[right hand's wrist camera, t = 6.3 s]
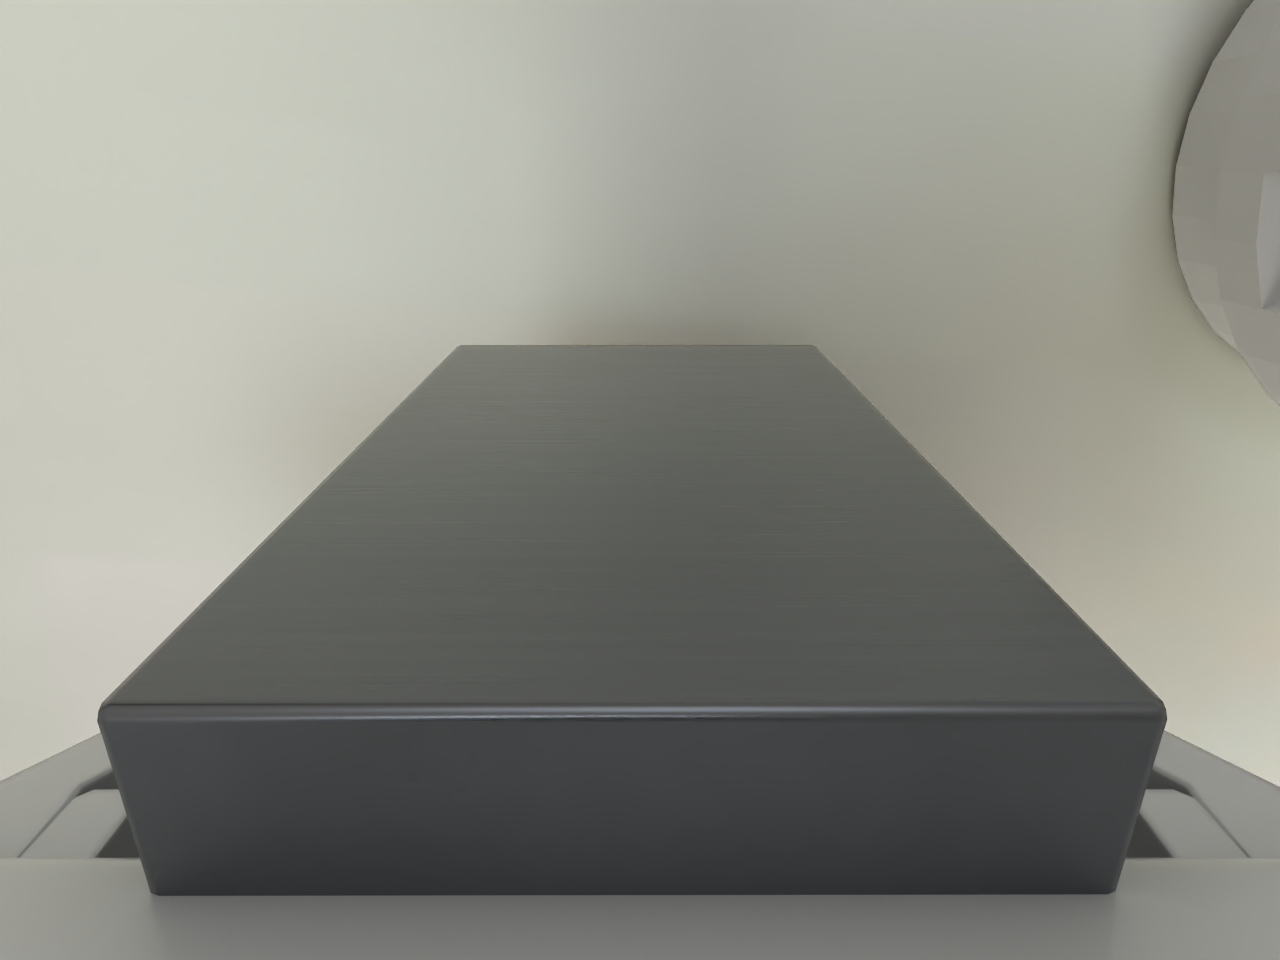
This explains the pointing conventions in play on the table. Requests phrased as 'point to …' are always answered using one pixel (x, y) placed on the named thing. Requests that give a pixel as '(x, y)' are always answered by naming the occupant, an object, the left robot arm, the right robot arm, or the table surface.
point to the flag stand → (1236, 194)
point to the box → (633, 660)
